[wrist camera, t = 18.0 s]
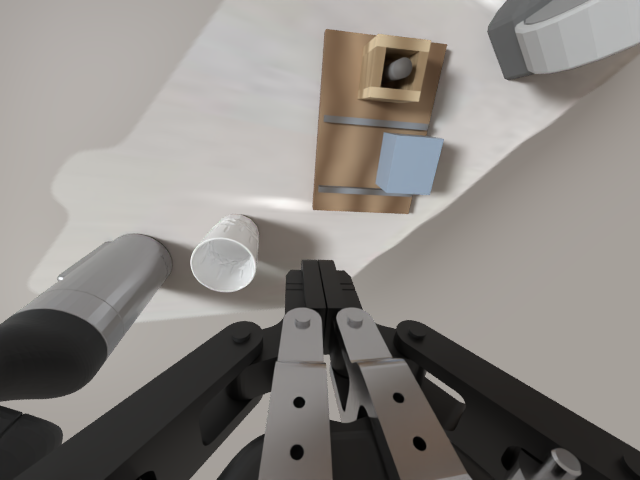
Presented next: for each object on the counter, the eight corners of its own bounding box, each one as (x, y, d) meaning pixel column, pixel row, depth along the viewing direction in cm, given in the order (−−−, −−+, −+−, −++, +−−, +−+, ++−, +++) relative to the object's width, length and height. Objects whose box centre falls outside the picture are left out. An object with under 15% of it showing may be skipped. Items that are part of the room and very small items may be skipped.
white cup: (273, 238, 44) (268, 271, 35) (235, 264, 45) (221, 302, 36) (239, 200, 40) (225, 225, 31) (200, 229, 42) (175, 261, 33)
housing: (375, 183, 40) (386, 192, 35) (383, 132, 37) (396, 135, 32) (414, 185, 40) (429, 194, 36) (425, 135, 37) (444, 139, 33)
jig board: (312, 206, 42) (317, 227, 34) (324, 32, 33) (335, 8, 25) (404, 210, 44) (429, 231, 36) (440, 47, 35) (484, 28, 27)
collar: (357, 99, 35) (369, 97, 29) (363, 46, 32) (378, 33, 27) (399, 103, 35) (418, 101, 30) (408, 52, 33) (431, 40, 28)
